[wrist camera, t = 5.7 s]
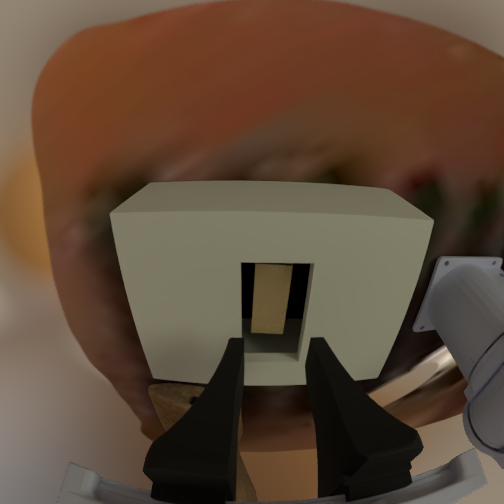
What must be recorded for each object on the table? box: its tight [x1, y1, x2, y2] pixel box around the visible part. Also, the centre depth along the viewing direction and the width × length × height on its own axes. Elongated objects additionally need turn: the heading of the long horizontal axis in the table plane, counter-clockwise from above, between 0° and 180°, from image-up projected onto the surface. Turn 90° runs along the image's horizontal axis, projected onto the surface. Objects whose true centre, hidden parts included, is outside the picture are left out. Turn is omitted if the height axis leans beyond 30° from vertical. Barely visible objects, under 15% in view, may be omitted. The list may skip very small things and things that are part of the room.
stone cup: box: [148, 383, 257, 502], centre depth 23 cm, size 15×12×15 cm
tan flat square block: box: [251, 263, 293, 334], centre depth 19 cm, size 2×5×5 cm, turn 177°
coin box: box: [110, 181, 434, 385], centre depth 18 cm, size 16×12×6 cm
